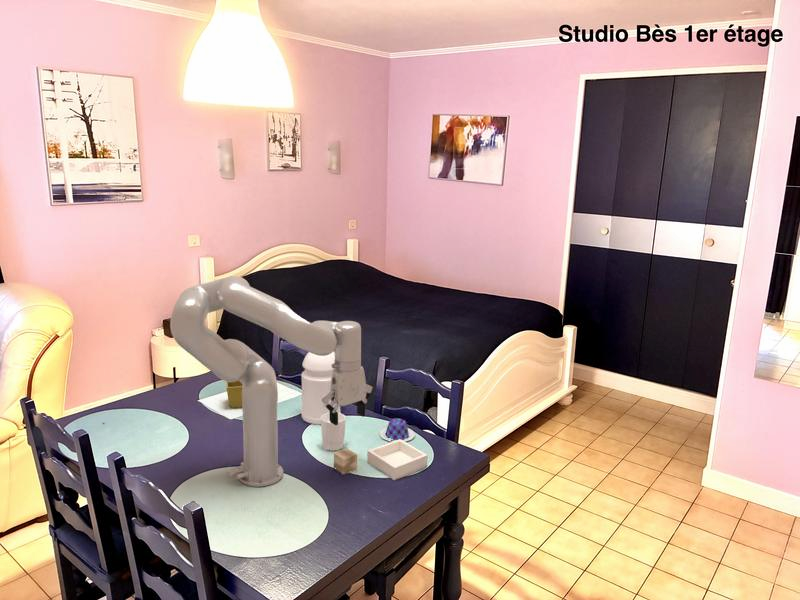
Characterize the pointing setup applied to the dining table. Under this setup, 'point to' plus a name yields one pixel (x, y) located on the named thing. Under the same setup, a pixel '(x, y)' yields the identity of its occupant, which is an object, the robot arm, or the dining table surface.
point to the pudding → (397, 430)
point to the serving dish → (397, 459)
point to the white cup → (333, 432)
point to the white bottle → (316, 386)
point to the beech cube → (345, 461)
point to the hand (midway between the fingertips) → (347, 419)
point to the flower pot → (234, 393)
